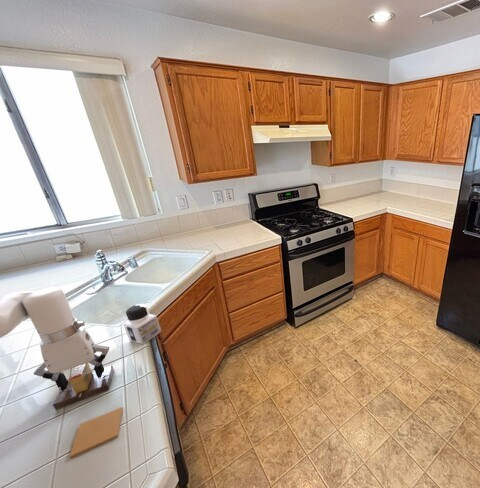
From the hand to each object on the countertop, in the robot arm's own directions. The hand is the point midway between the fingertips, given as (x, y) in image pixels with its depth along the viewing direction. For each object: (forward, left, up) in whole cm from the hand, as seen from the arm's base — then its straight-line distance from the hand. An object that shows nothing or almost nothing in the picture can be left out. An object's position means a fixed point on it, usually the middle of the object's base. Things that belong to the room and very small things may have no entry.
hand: (83, 380), depth 78 cm
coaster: (+6, -19, -3) cm, 20 cm away
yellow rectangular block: (0, 0, -1) cm, 1 cm away
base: (0, 0, -3) cm, 3 cm away
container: (+14, +19, -3) cm, 24 cm away
